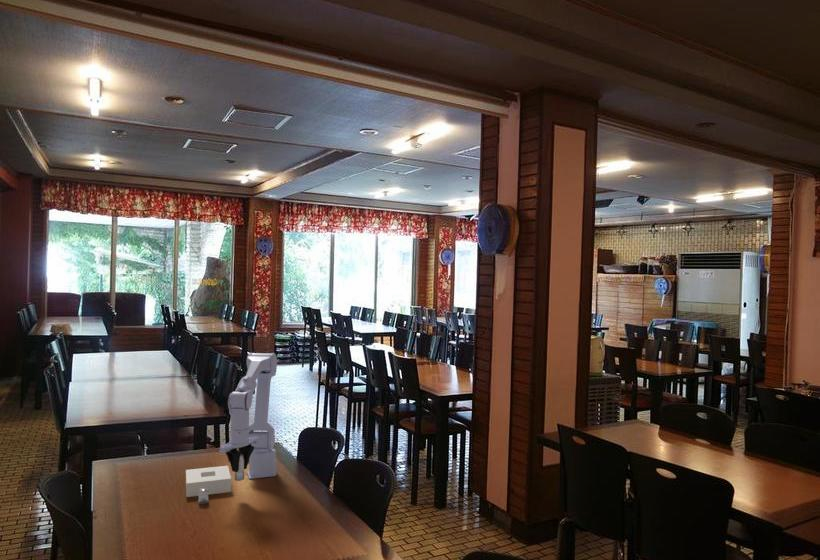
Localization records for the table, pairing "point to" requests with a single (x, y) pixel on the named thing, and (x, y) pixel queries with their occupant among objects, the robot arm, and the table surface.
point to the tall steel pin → (240, 469)
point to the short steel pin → (203, 495)
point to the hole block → (208, 480)
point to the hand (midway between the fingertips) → (239, 469)
